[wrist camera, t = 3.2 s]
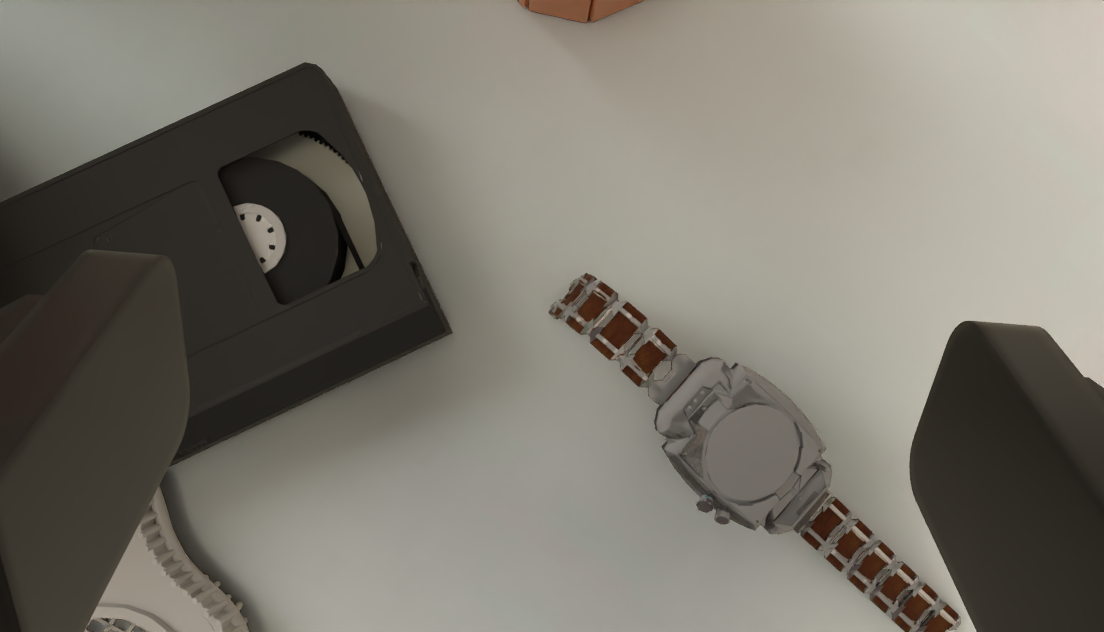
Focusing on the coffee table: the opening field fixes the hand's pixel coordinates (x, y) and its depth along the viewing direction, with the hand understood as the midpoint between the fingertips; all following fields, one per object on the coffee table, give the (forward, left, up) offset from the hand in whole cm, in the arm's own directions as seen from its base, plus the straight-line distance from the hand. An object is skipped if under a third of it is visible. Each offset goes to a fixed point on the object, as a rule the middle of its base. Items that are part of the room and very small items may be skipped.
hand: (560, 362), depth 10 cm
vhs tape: (-5, -9, -17) cm, 20 cm away
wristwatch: (+5, +4, -18) cm, 19 cm away
